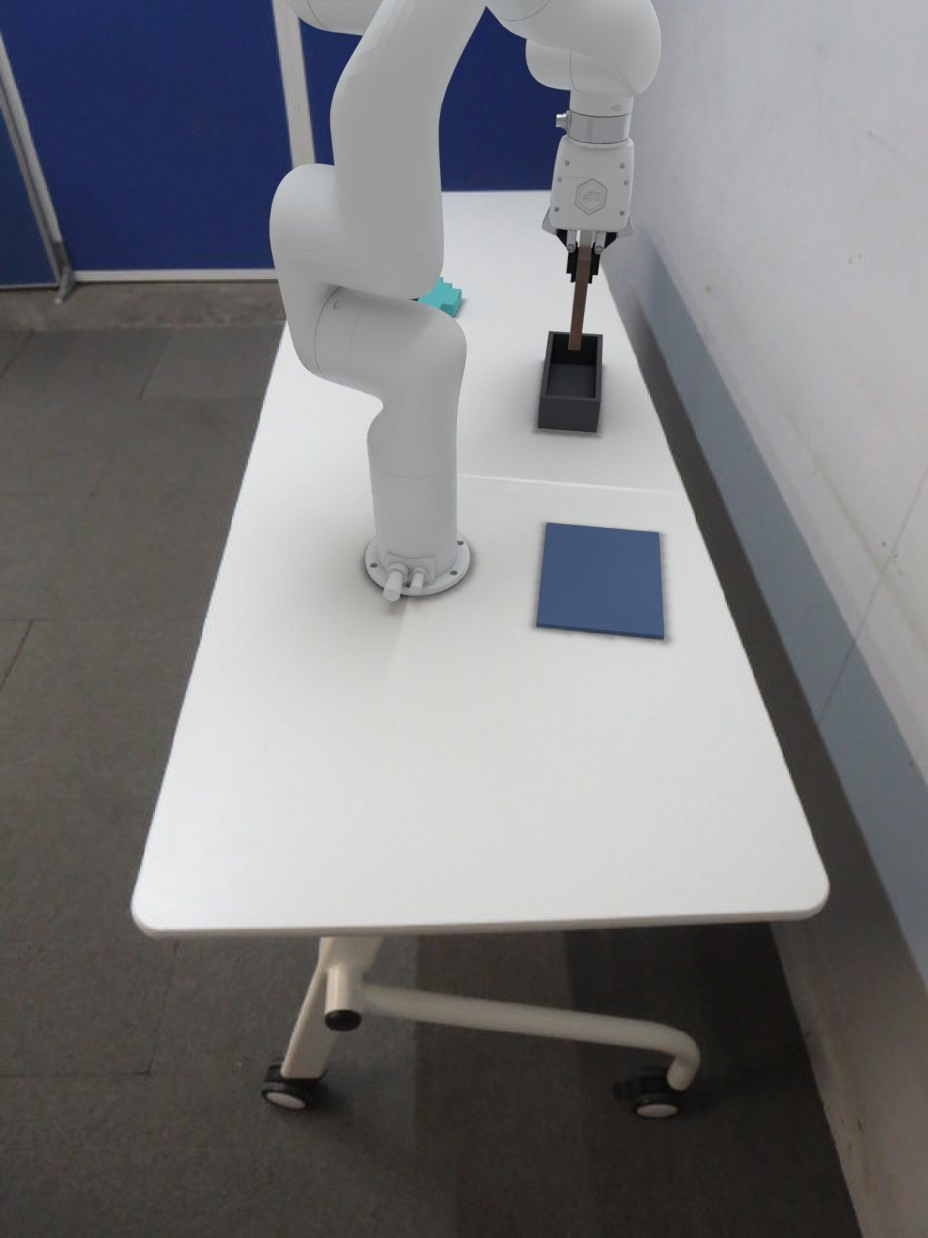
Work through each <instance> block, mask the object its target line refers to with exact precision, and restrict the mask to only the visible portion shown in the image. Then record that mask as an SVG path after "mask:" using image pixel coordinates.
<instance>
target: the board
mask: <svg viewBox="0 0 928 1238" xmlns="http://www.w3.org/2000/svg"><path fill="white" fill-rule="evenodd" d="M593 232H594V231H580V230H579V240H578V247H579V252H578V262H577V271H576V280H575V282H574V286H573V295H572V305H571V316H570V327H569V332H570V336H569V347H568V349H569V350H580V346H581V338H582V333H583V329H584V320H585V314H586V313H585V312H586V303H587V295H588V287H589V284H588V280H589V271H590V263H591V249H592V244H593Z"/></svg>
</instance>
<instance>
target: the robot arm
mask: <svg viewBox="0 0 928 1238" xmlns="http://www.w3.org/2000/svg"><path fill="white" fill-rule="evenodd" d="M285 1H286V3H287V4H288V5H289V8H291V10H292V11H293V13H294V15H296V16H298V18H300V20H302V21H303V22H304V23H306V24H308V25H309V26H311V27H313V28H316V29H318V30H322V31H326V32H332V33H339V34H347V35H357V36H362V37H361V39H360V41H359V42H358V44H357V46H356V48H355V49H354V51H353V53H352V54H351V56H350V57H349V60H348V62H347V63H346V65H345V67H344V69H343V71H342V73H341V74H340V77H339V79H338V81H337V84H336V87H335V89H334V92H333V96H332V100H331V103H330V104H331V105H330V111H329V127H330V136H331V146H332V155H333V163H334V165H332V164H326V163H307V164H302V165H299V166H296V167H294V168H293V169H291V170H290V171H289V172H288V173H287V174H285V176H284V177H283V178H282V180H281V181H280V183H279V184H278V186H277V188H276V191H275V193H274V195H273V198H272V201H271V207H270V215H269V241H270V250H271V255H272V260H273V261H272V262H273V265H274V269H275V274H276V278H277V282H278V287H279V291H280V295H281V299H282V304H283V308H284V313H285V317H286V321H287V326H288V330H289V334H290V337H291V343H292V345H293V348H294V351H295V353H296V355H297V357H298V360H299V361H300V363H301V364H302V366H303V367H304V368H305V370H307V371H308V372H309V373H311V375H313V376H315V377H317V378H320V379H322V380H325V381H328V382H330V383H333V384H337V385H339V386H343V387H345V388H350V389H352V390H356V391H358V392H362V393H363V394H366V395H370V396H372V397H375V398H376V399H378V400H379V401H380V402H381V403H382V409H381V410H380V411H378V413H377V414H376V415H375V416H374V418H373V419H372V420H371V422H370V425H368V426H369V427H368V429H367V434H366V450H367V459H368V469H369V477H370V479H369V480H370V488H371V500H372V508H373V517H374V519H373V520H374V529H375V537H374V538H373V539H372V540H371V541H370V543H368V545H367V547H366V551H365V554H364V556H365V557H364V561H365V569H366V571H367V574H368V576H370V578H371V580H372V581H374V582H375V583H376V584H377V585H379V586H380V587H381V588H383V592H382V597H383V598H384V600H386V601H388V602H393V603H394V602H397V601H398V600H400V597H401V595H404V596H412V597H419V596H429V595H434V594H438V593H440V592H443V591H446V590H448V589H449V588H452V587H454V586H455V585H456V584H458V583H459V582H460V581H461V580H462V579H463V578H464V577H465V576H466V574H467V572H468V570H469V568H470V563H471V551H470V546H469V545H468V543H467V541H466V539H464V537H463V536H462V535H461V534H460V533H458V474H457V473H458V472H457V471H458V467H457V466H458V461H457V460H458V455H457V454H458V450H457V449H458V448H457V446H458V445H457V444H458V443H457V441H458V440H457V439H458V438H457V435H458V433H457V431H458V412H459V402H460V395H461V389H462V384H463V379H464V373H465V369H466V362H467V355H468V354H467V351H468V344H467V339H466V335H465V332H464V331H463V328H462V327H461V325H460V323H458V322H457V320H456V319H455V318H454V317H451V316H450V315H448V314H447V313H445V312H444V311H442V310H440V309H437V308H435V307H433V306H430V305H427V304H424V303H421V302H417V301H414V300H410V299H416V298H420V297H422V296H424V295H426V294H428V293H429V292H430V291H431V290H432V289H433V288H434V287H435V286H436V284H437V283H438V281H439V278H440V277H441V274H442V272H443V267H444V260H445V233H444V232H445V231H444V213H443V212H444V211H443V197H442V196H443V195H442V180H441V179H442V178H441V166H440V165H441V163H440V138H439V137H440V136H439V133H440V132H439V131H440V130H439V129H440V119H441V117H440V116H441V111H442V110H441V109H442V105H443V102H444V98H445V95H446V91H447V88H448V86H449V83H450V81H451V78H452V76H453V74H454V71H455V69H456V67H457V64H458V62H459V60H460V58H461V56H462V54H463V52H464V50H465V48H466V46H467V44H468V42H469V40H470V39H471V37H472V35H473V32H474V31H475V29H476V27H477V25H478V24H479V21H481V20H480V19H481V18H482V16H483V14H484V11H485V9H486V8H487V9H488V10H489V12H491V13H492V15H493V16H494V17H495V18H496V19H497V20H498V22H499V23H500V25H502V27H503V28H505V29H506V30H508V31H509V32H511V33H513V34H514V35H516V36H518V37H521V38H523V39H525V40H526V41H525V42H526V43H525V61H526V65H527V68H528V71H529V72H530V74H531V75H532V77H533V78H534V80H536V81H537V82H538V83H540V84H542V85H543V86H545V87H548V88H552V89H557V90H564V91H570V95H569V96H570V97H569V107H568V110H566V112H563V113H557V114H556V119H555V122H556V123H555V127H556V128H561V129H564V131H565V132H566V134H565V135H563V136H562V137H560V141H559V144H558V148H557V152H556V156H555V162H554V168H553V176H552V181H551V182H552V183H551V190H550V200H549V206H548V209H547V211H546V214H545V216H544V218H543V220H542V223H541V229H542V231H545V232H546V233H548V234H551V235H553V236H556V237H557V239H558V240H559V241H560V243H562V244H563V246H564V247H565V248H566V249H565V250H566V251H567V259H566V269H565V270H566V271H565V274H566V275H570V282H569V283H570V284H575V280H576V271H577V262H578V252H579V241H577V237H578V236H577V235H578V231H579V232H580V231H593V232H595V239H594V242H592V249H591V263H590V271H589V280H588V285H592V284H593V278H594V276H596V277H597V276H599V270H600V263H601V262H600V261H601V254H603V252H604V250H606V249H607V248H608V247H609V246H610V245H611V244H613V243H614V242H615V241H616V240H621V239H624V238H626V237H630V236H631V235H633V232H634V230H633V229H634V227H633V222H632V218H631V213H630V210H631V203H632V195H633V194H632V193H633V183H634V173H635V172H634V171H635V144H634V141H633V139H632V138H630V137H629V136H630V129H631V121H632V115H633V114H632V113H633V107H634V99H635V97H637V96H640V94H642V93H644V92H645V91H646V90H647V89H648V88H649V87H650V85H651V83H652V82H653V80H654V78H655V76H656V75H657V72H658V68H659V65H660V62H661V57H662V31H661V26H660V22H659V18H658V16H657V12H656V11H655V8H654V5H653V4H652V1H651V0H285Z"/></svg>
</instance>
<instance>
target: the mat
mask: <svg viewBox="0 0 928 1238" xmlns="http://www.w3.org/2000/svg"><path fill="white" fill-rule="evenodd" d="M545 529H546V530H545V539H544V546H543V547H544V548H543V557H542V568H541V575H540V577H541V578H540V588H539V597H538V606H537V617H536V626H535V627H536V628H537V627H538V628H547V629H548V628H549V629H557V630H568V631H577V632H589V633H599V634H608V635H619V636H629V637H637V638H638V637H639V638H646V639H647V638H649V639H656V640H657V639H658V640H664V638H665V620H664V604H663V603H664V602H663V601H664V600H663V583H662V581H663V580H662V564H661V544H660V532H659V531H651V530H637V529H627V528H615V527H605V526H604V527H603V526H594V525H593V526H592V525H580V524H569V523H558V522H546V528H545Z"/></svg>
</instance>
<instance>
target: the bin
mask: <svg viewBox="0 0 928 1238" xmlns="http://www.w3.org/2000/svg"><path fill="white" fill-rule="evenodd" d="M547 333H548V334H547V341H546V348H545V356H544V364H543V370H542V377H541V378H542V379H541V386H540V393H539V401H538V412H537V413H538V415H537V416H538V417H537V429H542V430H554V431H566V432H569V431H570V432H581V433H592V434H593V433H594V434H597V432H598V427H599V426H598V425H599V419H600V410H601V403H602V382H603V381H602V378H603V373H602V372H603V351H604V349H603V348H604V334H603V333H602V334H601V333H588V332H587V333H586V332H582V338H581V346H580V350H569V349H568V347H569V336H570V331H557V330H556V331H554V330H548V332H547Z"/></svg>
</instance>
